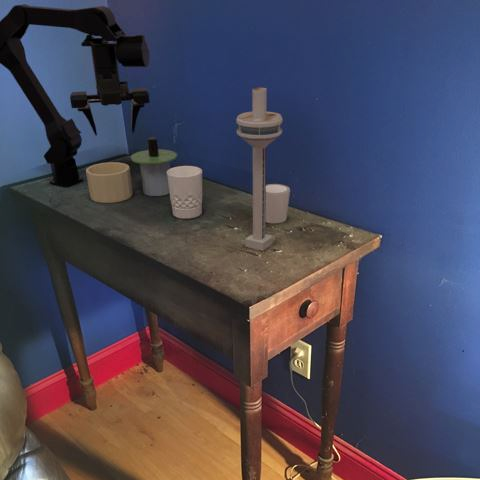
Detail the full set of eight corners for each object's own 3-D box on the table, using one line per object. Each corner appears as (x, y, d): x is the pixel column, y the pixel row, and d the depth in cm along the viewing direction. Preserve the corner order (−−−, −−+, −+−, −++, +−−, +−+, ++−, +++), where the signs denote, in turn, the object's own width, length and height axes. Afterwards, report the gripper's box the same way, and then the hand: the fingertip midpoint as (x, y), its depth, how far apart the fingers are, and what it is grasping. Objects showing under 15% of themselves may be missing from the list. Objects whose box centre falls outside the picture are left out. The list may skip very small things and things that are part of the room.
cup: (137, 193, 143) (133, 161, 139) (155, 184, 148) (152, 154, 144) (160, 198, 140) (157, 166, 135) (177, 189, 145) (175, 158, 141)
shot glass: (287, 225, 124) (288, 194, 120) (256, 223, 125) (256, 192, 121) (291, 213, 129) (292, 184, 126) (261, 212, 131) (261, 182, 127)
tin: (91, 204, 136) (86, 176, 133) (90, 190, 145) (85, 164, 141) (134, 200, 138) (130, 172, 135) (130, 187, 147) (127, 160, 143)
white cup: (206, 207, 133) (204, 166, 128) (201, 220, 127) (199, 177, 121) (174, 207, 134) (170, 165, 129) (167, 219, 127) (163, 176, 122)
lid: (133, 168, 134) (130, 146, 131) (129, 155, 143) (126, 134, 140) (180, 164, 136) (179, 142, 133) (173, 152, 145) (172, 131, 143)
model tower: (266, 257, 110) (268, 95, 94) (231, 248, 114) (226, 90, 98) (286, 241, 116) (291, 87, 100) (251, 233, 120) (251, 83, 104)
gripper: (65, 74, 126) (77, 144, 134) (148, 69, 129) (155, 138, 138) (65, 67, 135) (76, 133, 143) (143, 63, 138) (150, 128, 147)
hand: (114, 133), depth 142 cm, fingers open, 9 cm apart
